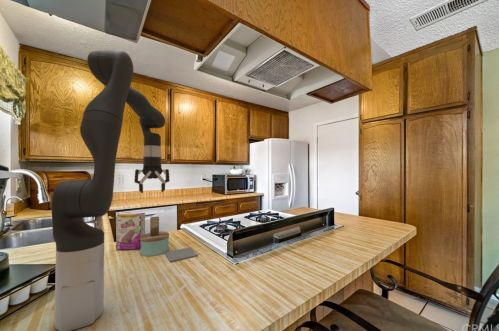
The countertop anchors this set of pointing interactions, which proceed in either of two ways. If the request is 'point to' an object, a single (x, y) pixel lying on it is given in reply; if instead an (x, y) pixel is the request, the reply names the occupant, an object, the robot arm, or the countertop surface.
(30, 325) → the countertop surface
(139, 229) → the candy bar box
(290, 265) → the countertop surface
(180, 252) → the mat
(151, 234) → the lid
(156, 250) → the bowl
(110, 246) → the countertop surface
